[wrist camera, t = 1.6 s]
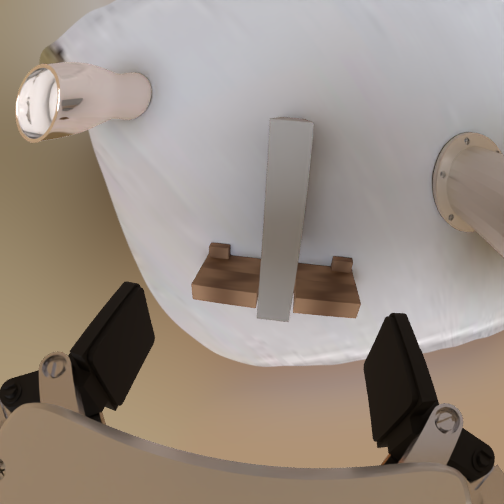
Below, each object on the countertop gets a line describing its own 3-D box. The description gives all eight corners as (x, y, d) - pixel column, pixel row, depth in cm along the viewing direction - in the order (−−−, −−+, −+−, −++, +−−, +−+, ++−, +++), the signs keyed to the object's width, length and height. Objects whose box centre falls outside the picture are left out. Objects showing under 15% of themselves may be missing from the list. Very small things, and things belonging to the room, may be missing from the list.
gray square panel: (305, 119, 26) (313, 122, 14) (293, 240, 32) (288, 322, 20) (281, 116, 26) (269, 118, 14) (272, 238, 33) (256, 318, 21)
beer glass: (161, 70, 25) (69, 57, 12) (149, 126, 28) (56, 149, 15) (113, 68, 25) (19, 66, 12) (104, 120, 28) (11, 142, 15)
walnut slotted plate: (354, 258, 32) (364, 292, 26) (345, 291, 35) (352, 328, 29) (209, 242, 34) (190, 272, 28) (210, 275, 37) (193, 309, 31)
